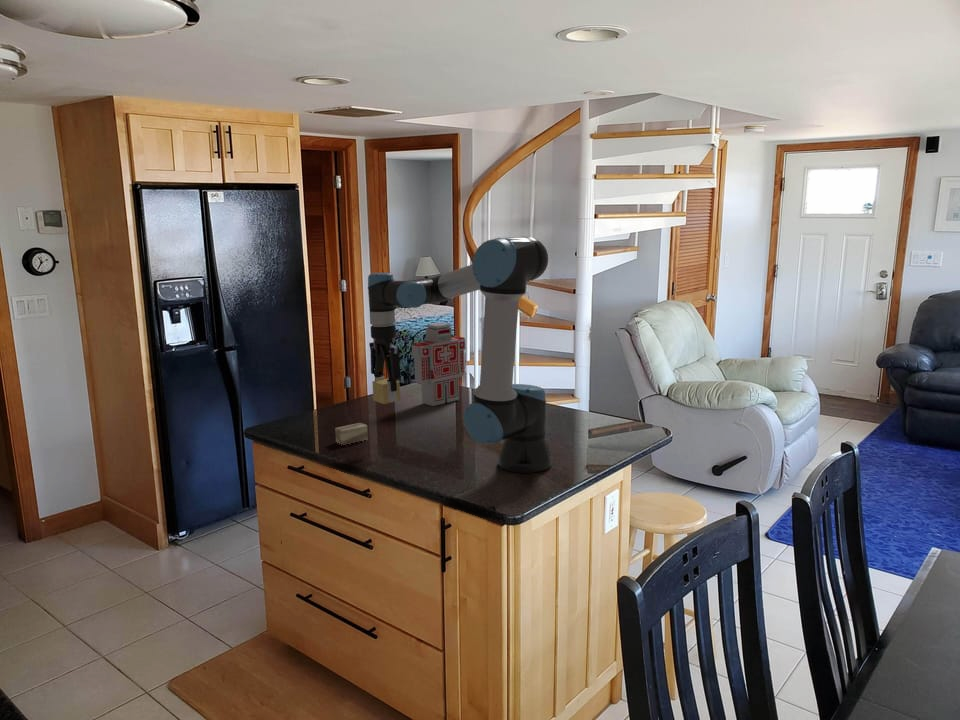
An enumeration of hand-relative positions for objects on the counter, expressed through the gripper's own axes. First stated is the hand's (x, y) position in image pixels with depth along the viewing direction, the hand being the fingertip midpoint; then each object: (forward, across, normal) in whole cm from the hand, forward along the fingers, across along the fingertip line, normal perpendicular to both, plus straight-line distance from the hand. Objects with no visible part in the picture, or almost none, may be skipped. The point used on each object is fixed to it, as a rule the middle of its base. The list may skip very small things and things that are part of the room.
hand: (386, 399), depth 221 cm
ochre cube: (0, 0, 0) cm, 0 cm away
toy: (+15, +32, -43) cm, 56 cm away
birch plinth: (+15, +12, +6) cm, 21 cm away
